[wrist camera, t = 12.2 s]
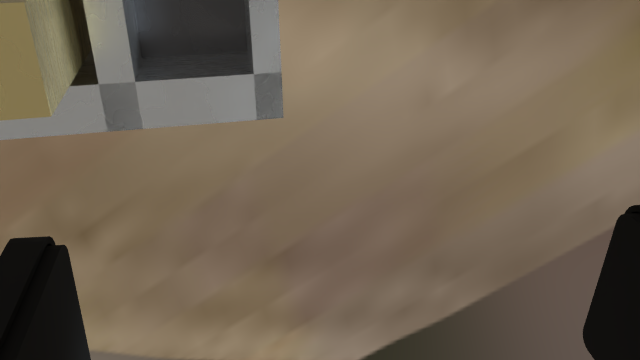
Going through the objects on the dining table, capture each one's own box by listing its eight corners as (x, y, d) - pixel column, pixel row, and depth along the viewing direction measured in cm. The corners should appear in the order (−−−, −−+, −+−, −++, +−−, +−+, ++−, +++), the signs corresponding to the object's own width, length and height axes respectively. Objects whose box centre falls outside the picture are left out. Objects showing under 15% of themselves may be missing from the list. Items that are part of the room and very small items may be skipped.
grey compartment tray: (-255, -101, 26) (-337, -96, 22) (262, -112, 29) (273, -109, 25) (-165, 119, 30) (-219, 157, 26) (273, 88, 34) (283, 117, 30)
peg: (-13, -35, 28) (-110, 8, 19) (77, -39, 29) (24, 2, 20) (8, 50, 30) (-70, 126, 21) (93, 45, 30) (51, 116, 22)
